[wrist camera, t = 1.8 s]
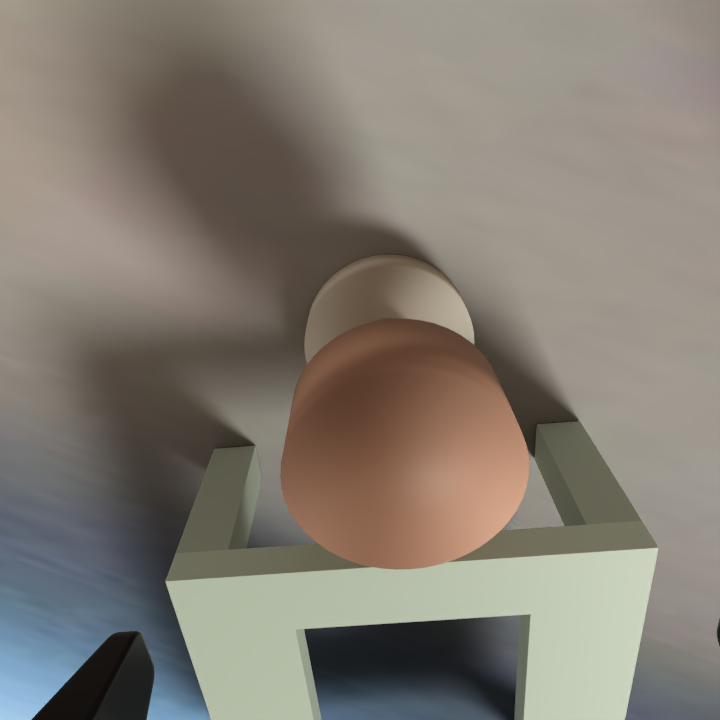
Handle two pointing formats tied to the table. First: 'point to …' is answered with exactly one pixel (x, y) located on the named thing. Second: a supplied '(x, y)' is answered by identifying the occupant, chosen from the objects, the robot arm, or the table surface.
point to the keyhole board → (420, 593)
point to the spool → (399, 422)
